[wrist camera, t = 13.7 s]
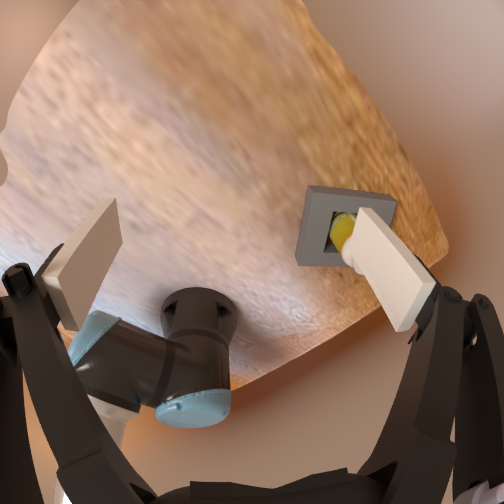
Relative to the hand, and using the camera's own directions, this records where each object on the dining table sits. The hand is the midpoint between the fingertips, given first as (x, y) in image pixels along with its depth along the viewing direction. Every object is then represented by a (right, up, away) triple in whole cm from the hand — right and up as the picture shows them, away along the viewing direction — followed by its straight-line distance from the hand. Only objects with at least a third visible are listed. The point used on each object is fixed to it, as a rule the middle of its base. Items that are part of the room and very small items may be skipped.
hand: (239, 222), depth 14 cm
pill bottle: (+16, +3, +32) cm, 36 cm away
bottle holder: (+16, +3, +32) cm, 36 cm away
